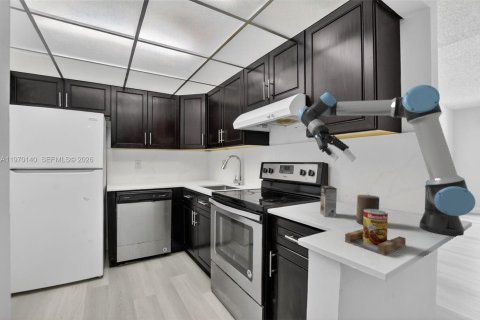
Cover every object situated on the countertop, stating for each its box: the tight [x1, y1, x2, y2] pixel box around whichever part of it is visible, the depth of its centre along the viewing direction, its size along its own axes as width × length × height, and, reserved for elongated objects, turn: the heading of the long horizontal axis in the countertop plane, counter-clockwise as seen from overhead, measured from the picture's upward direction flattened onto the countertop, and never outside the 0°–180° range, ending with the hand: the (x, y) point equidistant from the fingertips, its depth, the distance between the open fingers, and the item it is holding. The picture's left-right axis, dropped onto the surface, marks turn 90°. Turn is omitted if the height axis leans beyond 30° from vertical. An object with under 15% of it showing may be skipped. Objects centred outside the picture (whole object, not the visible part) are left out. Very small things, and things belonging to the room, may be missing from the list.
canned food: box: [362, 209, 389, 246], centre depth 85 cm, size 8×8×12 cm
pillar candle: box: [356, 194, 380, 225], centre depth 112 cm, size 10×10×15 cm
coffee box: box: [319, 185, 338, 218], centre depth 127 cm, size 9×6×16 cm
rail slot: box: [344, 228, 407, 256], centre depth 85 cm, size 16×14×3 cm
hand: (345, 159), depth 102 cm, fingers open, 13 cm apart
